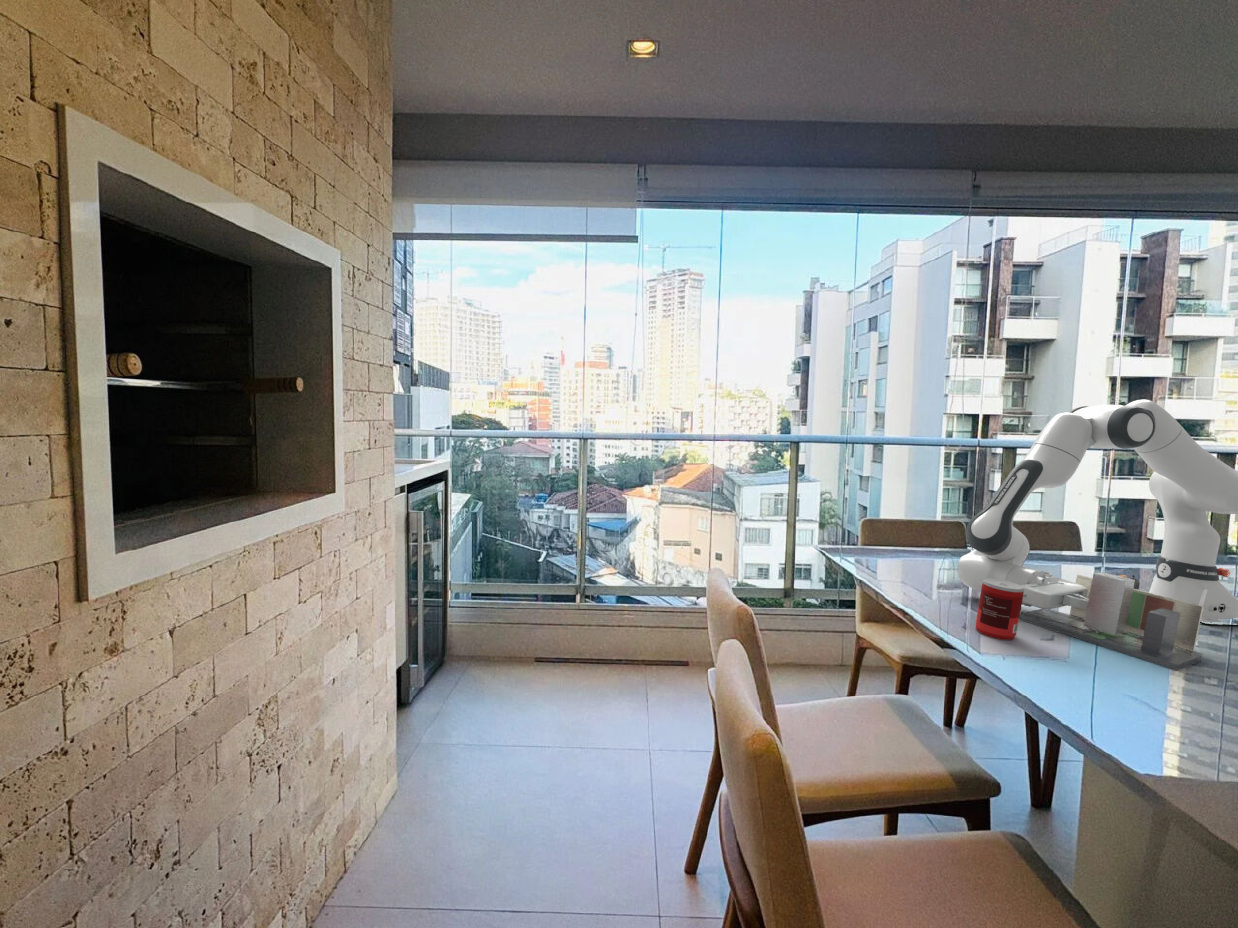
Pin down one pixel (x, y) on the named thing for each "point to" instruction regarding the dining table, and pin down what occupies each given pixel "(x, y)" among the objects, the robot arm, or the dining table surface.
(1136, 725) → the dining table surface
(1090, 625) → the brushed steel slab
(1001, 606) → the canned food
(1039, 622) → the base
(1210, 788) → the dining table surface
